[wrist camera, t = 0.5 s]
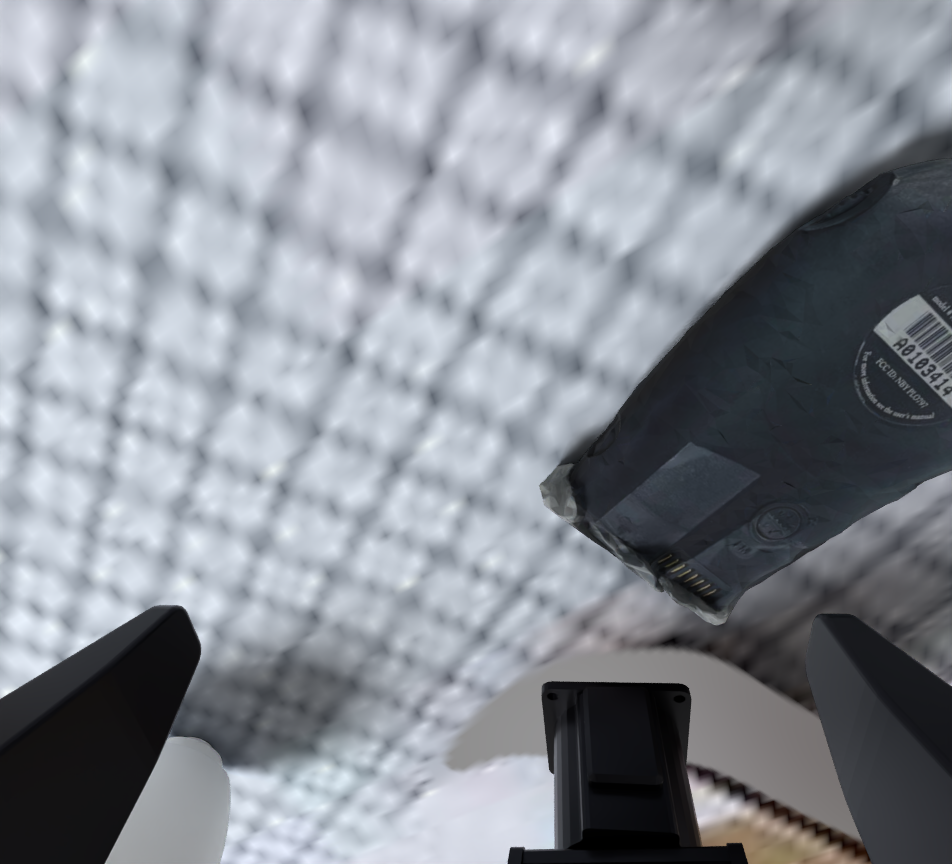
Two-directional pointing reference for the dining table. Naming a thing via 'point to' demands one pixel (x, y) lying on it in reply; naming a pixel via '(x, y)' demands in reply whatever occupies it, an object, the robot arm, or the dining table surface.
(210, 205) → the dining table surface
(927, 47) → the dining table surface
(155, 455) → the dining table surface
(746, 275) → the electronic device
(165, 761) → the sauce bottle
